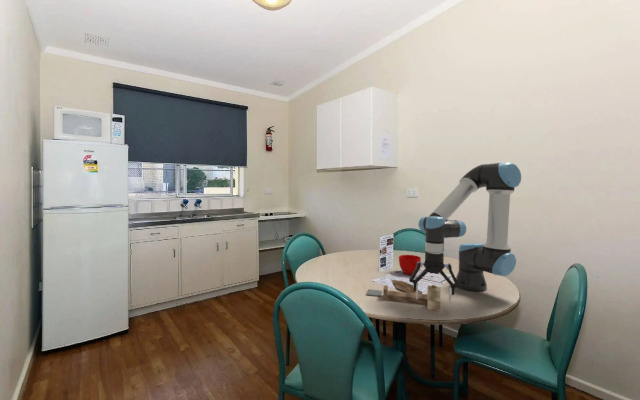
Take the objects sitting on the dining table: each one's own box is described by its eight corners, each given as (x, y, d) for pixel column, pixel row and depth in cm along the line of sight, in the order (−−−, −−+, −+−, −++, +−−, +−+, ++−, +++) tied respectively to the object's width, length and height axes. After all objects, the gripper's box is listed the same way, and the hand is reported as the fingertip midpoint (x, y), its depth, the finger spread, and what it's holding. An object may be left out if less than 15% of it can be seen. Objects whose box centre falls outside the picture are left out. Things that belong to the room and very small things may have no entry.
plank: (436, 300, 135) (436, 290, 135) (437, 305, 130) (437, 294, 129) (384, 294, 143) (384, 285, 142) (383, 299, 137) (383, 289, 137)
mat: (382, 291, 147) (382, 290, 147) (380, 296, 140) (380, 295, 140) (368, 290, 149) (368, 289, 149) (366, 295, 142) (366, 294, 142)
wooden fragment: (426, 295, 142) (426, 293, 142) (405, 297, 140) (405, 295, 140) (402, 279, 167) (402, 277, 167) (384, 280, 165) (384, 279, 165)
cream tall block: (439, 306, 129) (439, 285, 128) (440, 311, 124) (440, 289, 123) (427, 305, 130) (427, 284, 130) (427, 309, 125) (428, 287, 125)
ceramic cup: (409, 279, 166) (410, 262, 166) (394, 271, 183) (394, 255, 182) (429, 277, 170) (429, 260, 169) (412, 269, 186) (412, 254, 186)
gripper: (464, 252, 126) (462, 300, 127) (404, 248, 133) (403, 293, 134) (467, 256, 119) (466, 306, 119) (404, 251, 126) (403, 299, 127)
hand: (433, 300), depth 127 cm, fingers open, 13 cm apart
